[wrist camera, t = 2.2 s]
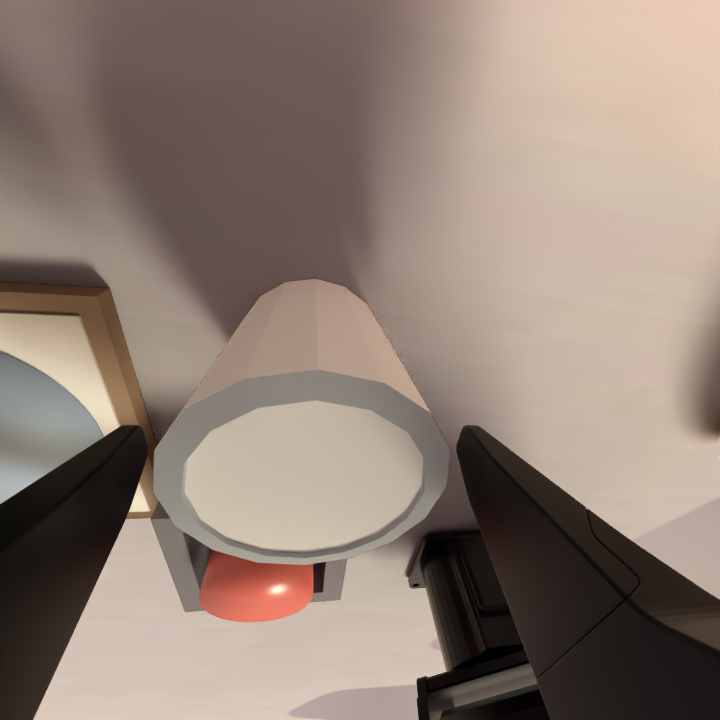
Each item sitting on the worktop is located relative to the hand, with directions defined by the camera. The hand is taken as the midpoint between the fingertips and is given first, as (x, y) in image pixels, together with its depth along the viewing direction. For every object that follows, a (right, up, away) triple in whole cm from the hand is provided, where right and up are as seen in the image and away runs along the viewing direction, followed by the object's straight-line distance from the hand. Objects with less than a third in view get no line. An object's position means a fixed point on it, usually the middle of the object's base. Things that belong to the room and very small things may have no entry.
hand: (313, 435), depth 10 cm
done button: (-3, -7, +7) cm, 10 cm away
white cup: (-1, +3, +4) cm, 5 cm away
